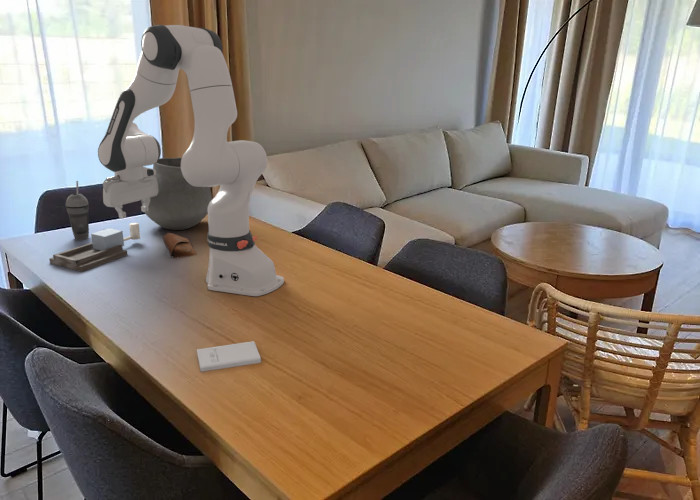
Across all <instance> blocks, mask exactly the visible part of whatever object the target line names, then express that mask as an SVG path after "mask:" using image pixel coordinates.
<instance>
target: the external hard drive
mask: <svg viewBox="0 0 700 500" xmlns="http://www.w3.org/2000/svg"><path fill="white" fill-rule="evenodd" d="M196 354H197V360H198V365H199V366H198V367H199V371H200V372H201V373H202V372H208V371H215V370H221V369H223V370H224V369H228V368H234V367H241V366H247V365H255V364H261V363H262V358H261V355H260V353H259V350H258V347H257V345H256V342H255V341H254V340H252V341H251V340H250V341H244V342H239V343H238V342H237V343H231V344H224V345H219V346H218V345H217V346H212V347H211V346H210V347H205V348H198V349H197V348H196Z"/></svg>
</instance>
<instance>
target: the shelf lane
mask: <svg viewBox="0 0 700 500" xmlns="http://www.w3.org/2000/svg"><path fill="white" fill-rule="evenodd" d="M123 256H124V257H126V256H128V250H126V249H123V246H122V245H117V246H114V247H111V248H108V249H105V250H102V251H100V250H96V249H93V244H92V242H90V243H86V244H84V245H80V246H77V247H74V248H70V249H68V250H67V249H66V250H64V251H62V252H58V253H55V254H52V257H50V258H48V259H49V264H51V265H56V266H60V267H63V268H65V269H69V270H75V271H78V272H81V273H82V272H84V271H85V272H86V271H88V270H90V269H93V268H96V267H98V266H102V265H104V264H107V263H110V262H112V261H115V260H117V259H121V258H123Z"/></svg>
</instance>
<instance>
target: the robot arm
mask: <svg viewBox="0 0 700 500" xmlns="http://www.w3.org/2000/svg"><path fill="white" fill-rule="evenodd" d="M140 47H141V53H140V56H139V59H138V61H137V67H136V71H135V75H134V77H133V79H132V80H131V82H130V84H129V85H128V86H127V88H126V89H124V90H123V91H122V92H121V93H120V94H119V97H118V99H117V101H116V105H115V107H114V110H113V112H112V115H111V119H110V120H109V121H110V122H109V124H108V127H107V129H106V132H105V134H104V136H103V138H102V140H101V141H100V144H99V146H98V148H97V156H98V160H99V163H101V165H102V166H103V167H104V168H106V169H107V170H108V171H111V172H113V173H114V176H110V177H109V176H108V177H106V178H105V180H104V181H103V182H102V186H103V188H102V201H103V205H104V206H106V207H108V208H114V209H115V210H116V212H117V214H118V218H119V219H126V218H127V212H125V211H123V205H126V204H127V205H128V204H131V203H134V202H138V201H141V200H143V201H144V203H143V206H142V205H141V206H140V209H141V212H143V213H145V212H147V211H148V206H149V203H150V198H151V197H155V196H157V195H158V192H159V190H158V182H157V178H156V177H155V175H156V170H155V169H153V168H150V167H148V166H152V165H153V164H155V163H157V162H158V160H159V158H161V153H162V149H161V145H160V142H159V141H158V139H157V138H156V137H154V136H153V135H152V134H151V135H150V134H147V133H145V132H144V131H142V130H141V129H140V128H139V127H138V125H137V123H135V122H134V120H135V119H137V117H139V116H140V115H142V114H144V113H146V112H147V111H150V110H152V109H155V108H159V107H160V106H163V105H165V104H166V103H168V102H169V101H170V100H171V99H172V97H173V96H174V93H175V91H176V88H177V87H176V86H177V83H178V78H179V74H180V73H179V72H180V70H182V71H184V73H185V74H186V76H187V77H186V78H187V83H188V88H189V94H190V98H191V104H192V110H193V118H194V130H193V137H192V138H191V142H190V144H189V146H188V148H187V149H186V151H185V152H183V154H182V159H181V172H182V174H183V177H184V178H185V180H186V181H187V182H188V183H189V184H190V185H192V186H196V187H209V188H212V187H218V186H219V189H218V190H217V193H216V194H215V196H214V197H212V200H211V201H210V203H209V205H208V214H207V220H208V221H207V223H208V232H207V237H206V239H207V245H208V247H209V249H208V250H209V257H208V266H207V267H208V269H207V273H206V277H205V282H206V285H207V290H210V291H214V292H221V293H229V294H236V295H243V296H250V297H259V296H263V295H267V294H270V293H272V292H274V291H276V290H277V289H279V288H280V287H282V286H283V285H284V282H285V279H284V276H281V275H278V274H277V272H276V267H275V263H274V261H273V260H272V259H271V258H270V257H269V256H268V255H266V254H265V253H264V252H263V251H262V250H261V249H260V248H258V246H257V245H256V242H255V241H257V240H258V235H255V236H253V234H252V232H251V230H250V210H249V209H250V202H251V197H252V193H253V190H254V188H255V186H256V183H257V181H258V179H259V178H260V177H261V175H262V174H263V173H264V172H265V170H266V169H267V165H268V155H267V152H266V150H265V149H264V147H263V145H261V144H260V143H259V142H256V141H252V140H245V139H243V140H242V139H239V140H233V141H231V140H230V141H228V132H229V129H230V127H231V125H232V124H234V123H235V122H236V120H237V118H238V109H237V105H236V98H235V93H234V87H233V82H232V79H231V75H230V71H229V68H228V65H227V62H226V59H225V56H224V54H223V43H222V40H221V38H220V36H219V35H218V34H217V33H216V32H215V31H213V30H211V29H209V28H205V27H195V26H189V25H188V26H187V25H183V24H167V25H165V24H155V25H151V26H149V27H146V28H145V30H144V31H143V33H142V36H141V41H140Z"/></svg>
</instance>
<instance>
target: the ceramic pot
mask: <svg viewBox="0 0 700 500" xmlns="http://www.w3.org/2000/svg"><path fill="white" fill-rule="evenodd" d="M181 159H182V157H171V158H170V157H160V158H159V160H158V162H157V163H155V164H152V165H153V167H152V169H155V170H156V175H155V177H156V178H157V182H158V190H159V192H158V195H157V196H155V197H151V198H150V203H149V206H148V211H147V212H144V214H145V215H146V217H148V218H149V219H150V220H151V221H153V222H154V223H155V224H157V225H158V226H159V227H162V228H164V229H165V230H172V231H184V230H187V229H190V228H193V227H194V226H196V225H197V224H199V223H200V222H201V221H202V220H204V219H205V218H206V217H207V216H208V205H209V203H210V201H211V200H212V199H213V196H212V190H211V187H196V186H192V185H190V184H189V183H188V182H187V181H186V180H185V178H184V177H183V174H182V172H181ZM140 201H141V206H143V203H144V201H143V200H140Z"/></svg>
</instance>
